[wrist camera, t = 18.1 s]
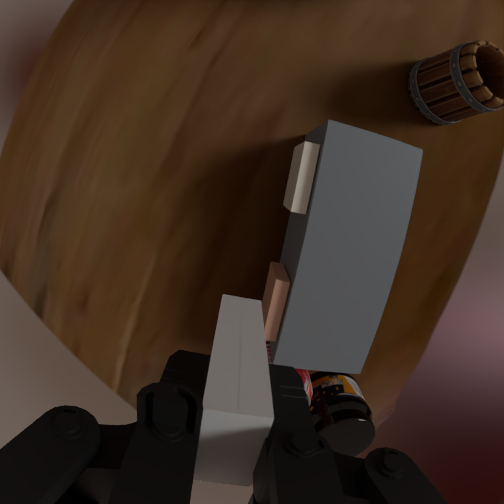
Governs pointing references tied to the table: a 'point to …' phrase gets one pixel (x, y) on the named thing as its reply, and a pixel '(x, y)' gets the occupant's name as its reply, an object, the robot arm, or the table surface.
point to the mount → (345, 248)
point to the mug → (459, 82)
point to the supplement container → (341, 413)
